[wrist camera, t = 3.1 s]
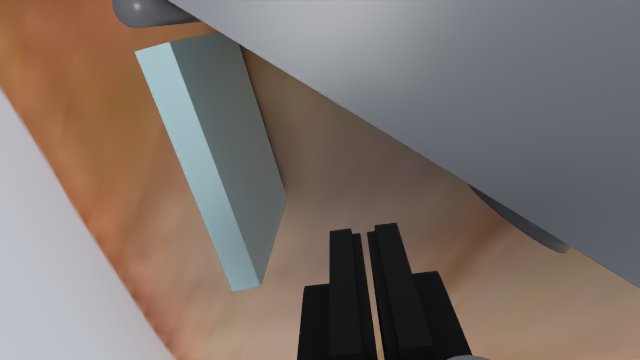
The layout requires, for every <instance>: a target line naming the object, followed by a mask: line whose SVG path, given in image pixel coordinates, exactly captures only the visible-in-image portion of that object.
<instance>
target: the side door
mask: <svg viewBox="0 0 640 360" xmlns="http://www.w3.org/2000/svg"><path fill="white" fill-rule="evenodd" d="M135 54H136V56H137V59H138V61H139V63H140V66H141V68H142V71H143V73H144V76H145V78H146V81H147V83H148V85H149V88H150V90H151V93H152V95H153V98H154V100H155V103H156V105H157V107H158V110H159V112H160V115H161V117H162V120H163V122H164V125H165V127H166V129H167V132H168V134H169V137H170V139H171V142H172V144H173V147H174V149H175V151H176V154H177V156H178V159H179V161H180V164H181V166H182V169H183V171H184V174H185V176H186V178H187V181H188V183H189V186H190V188H191V191H192V193H193V196H194V198H195V200H196V203H197V205H198V208H199V210H200V213H201V215H202V218H203V220H204V222H205V225H206V227H207V230H208V232H209V235H210V237H211V240H212V242H213V244H214V247H215V249H216V252H217V254H218V257H219V259H220V262H221V264H222V266H223V269H224V271H225V274H226V276H227V279H228V281H229V284H230V286H231V288H232V291H233V292H234V291H239V290H245V289H251V288H256V287H261V284H262V281H263V278H264V274H265V271H266V267H267V264H268V261H269V257H270V254H271V251H272V247H273V244H274V240H275V237H276V234H277V230H278V227H279V223H280V220H281V217H282V213H283V210H284V206H285V203H286V200H287V197H286V194H285V191H284V187H283V184H282V181H281V178H280V175H279V171H278V168H277V165H276V162H275V159H274V155H273V152H272V149H271V146H270V143H269V139H268V136H267V133H266V130H265V127H264V123H263V120H262V117H261V114H260V111H259V107H258V104H257V101H256V98H255V95H254V91H253V88H252V85H251V82H250V79H249V75H248V72H247V69H246V66H245V63H244V59H243V56H242V53H241V50H240V47H239V43H237V42H235V41H234V40H232V39H231V38H229V37H227V36H226V35H224V34H222V33H221V32H217V33H212V34H207V35H202V36H197V37H192V38H187V39H182V40H177V41H172V42H168V43H164V44H160V45H157V46H153V47H150V48H146V49H142V50H139V51H135Z"/></svg>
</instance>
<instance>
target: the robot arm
mask: <svg viewBox="0 0 640 360" xmlns="http://www.w3.org/2000/svg"><path fill="white" fill-rule="evenodd" d="M367 236H368V244H369V251H370V259H371V266H372V274H373V281H374V289H375V296H376V304H377V311H378V319H379V326H380V333H381V339H382V346H383V352H384V359H385V360H489V359H486V358H484V357H479V356H473V355H472V353H471V350H470V348H469V345H468V343H467V340H466V338H465V336H464V333H463V331H462V328H461V326H460V323H459V321H458V318H457V316H456V314H455V311H454V309H453V306H452V304H451V301H450V299H449V296H448V294H447V292H446V289H445V287H444V284H443V282H442V279H441V277H440V275H439V273H438V272H437V271H432V272H423V273H415V274H412V272H411V269H410V266H409V262H408V259H407V256H406V253H405V249H404V246H403V243H402V239H401V236H400V233H399V230H398V226H397V223H390V224H382V225H375V231H373V232H367ZM297 360H378V358H377V351H376V343H375V336H374V328H373V321H372V314H371V307H370V299H369V292H368V285H367V278H366V271H365V264H364V257H363V250H362V243H361V235H360V233H357V234H352V231H351V229H343V230H335V231H330V282H329V284H320V285H311V286H305V288H304V292H303V303H302V313H301V324H300V334H299V344H298V355H297Z"/></svg>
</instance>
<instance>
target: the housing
mask: <svg viewBox="0 0 640 360" xmlns="http://www.w3.org/2000/svg"><path fill="white" fill-rule="evenodd" d="M112 5H113V10H114V12H115V14H116V16H117V18H118V19H119V20H120V21H121V22H122V23H123V24H125V25H126V26H128V27H131V28H143V27H153V26H163V25H173V24H183V23H193V22H204V23H206V24H208V25H209V26H211V27H213V28H214V29H216V30H217V31H219V32H221V33H222V34H224V35H226V36H227V37H229V38H231V39H232V40H234V41H235V42H237V43H239V44H240V45H242V46H244V47H245V48H247V49H249V50H250V51H252V52H254V53H255V54H257V55H258V56H260V57H262V58H263V59H265V60H267V61H268V62H270V63H272V64H273V65H275V66H276V67H278V68H280V69H281V70H283V71H285V72H286V73H288V74H290V75H291V76H293V77H294V78H296V79H298V80H299V81H301V82H303V83H304V84H306V85H308V86H309V87H311V88H312V89H314V90H316V91H317V92H319V93H321V94H322V95H324V96H326V97H327V98H329V99H330V100H332V101H334V102H335V103H337V104H339V105H340V106H342V107H344V108H345V109H347V110H348V111H350V112H352V113H353V114H355V115H357V116H358V117H360V118H362V119H363V120H365V121H366V122H368V123H370V124H371V125H373V126H375V127H376V128H378V129H380V130H381V131H383V132H384V133H386V134H388V135H389V136H391V137H393V138H394V139H396V140H398V141H399V142H401V143H402V144H404V145H406V146H407V147H409V148H411V149H412V150H414V151H416V152H417V153H419V154H420V155H422V156H424V157H425V158H427V159H429V160H430V161H432V162H434V163H435V164H437V165H439V166H440V167H442V168H443V169H445V170H447V171H448V172H450V173H452V174H453V175H455V176H457V177H458V178H460V179H461V180H463V181H465V182H466V183H468V185H469V186H470V187H471V188H472V190H473V191H474V192H475V193H476V194H477V195H478V196H479V197H480V198H481V199H482V200H483V201H484V202H486V203H487V204H488V205H489V206H490V207H491V208H492V209H494V210H495V211H496V212H497V213H498V214H500V215H501V216H502V217H503V218H505V219H506V220H507V221H509V222H510V223H511V224H513V225H514V226H515V227H517V228H518V229H519V230H521V231H522V232H524V233H525V234H527V235H528V236H530V237H531V238H533V239H534V240H536V241H537V242H539V243H541V244H542V245H544V246H546V247H548V248H550V249H552V250H554V251H556V252H559V253H565V252H566V251H567V250H568V249H569V248H571V247H573V248H574V249H576V250H578V251H579V252H581V253H583V254H584V255H586V256H587V257H589V258H591V259H592V260H594V261H596V262H597V263H599V264H601V265H602V266H604V267H606V268H607V269H609V270H610V271H612V272H614V273H615V274H617V275H619V276H620V277H622V278H624V279H625V280H627V281H628V282H630V283H632V284H633V285H635V286H637V287H638V288H640V0H112Z"/></svg>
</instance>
